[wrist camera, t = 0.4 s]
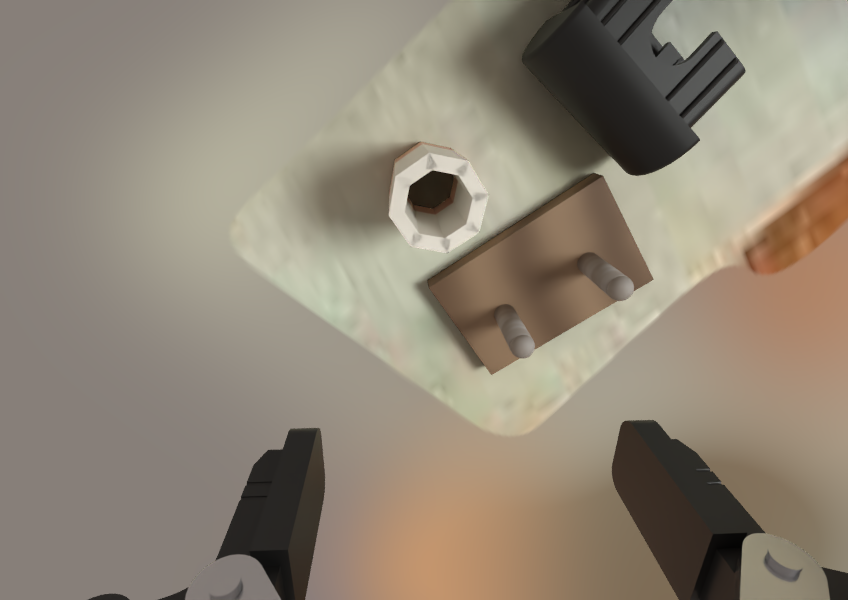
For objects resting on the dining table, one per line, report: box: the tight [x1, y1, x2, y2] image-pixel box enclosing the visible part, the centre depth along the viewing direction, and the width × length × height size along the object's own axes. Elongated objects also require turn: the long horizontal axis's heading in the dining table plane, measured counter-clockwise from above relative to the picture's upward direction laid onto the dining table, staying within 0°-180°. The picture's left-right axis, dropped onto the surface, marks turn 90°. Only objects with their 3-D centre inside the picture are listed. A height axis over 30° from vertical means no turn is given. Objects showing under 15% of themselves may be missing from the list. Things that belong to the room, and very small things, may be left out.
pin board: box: [428, 173, 654, 375], centre depth 32 cm, size 14×9×7 cm, turn 124°
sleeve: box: [389, 142, 489, 253], centre depth 28 cm, size 5×5×8 cm
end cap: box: [522, 0, 745, 176], centre depth 27 cm, size 10×7×7 cm
